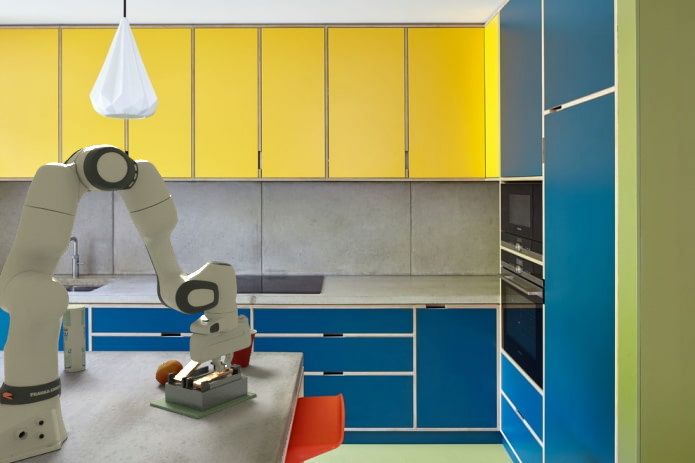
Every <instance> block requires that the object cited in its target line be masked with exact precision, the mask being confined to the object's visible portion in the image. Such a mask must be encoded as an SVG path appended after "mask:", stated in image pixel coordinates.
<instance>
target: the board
mask: <svg viewBox="0 0 695 463" xmlns="http://www.w3.org/2000/svg"><path fill="white" fill-rule="evenodd" d="M254 397H257V393H255V392H252V391H251V392H250V391H248V395H245V396H243V397H240V398H237V399H235V400H232V401H230V402H227V403H225V404H222V405H219V406H217V407H214V408H212V409H209V410H207V411H204V412H200V411H197V410H193V409H190V408H186V407H183V406H179V405H175V404H172V403H168V402H165V397H164V398H160V399H158V400H154V401H152V402H149V405H150V406H152V407H155V408H159V409H162V410H166V411H169V412H173V413H176V414H180V415H183V416H186V417H190V418H193V419H196V420H199V419H202V418H203V417H207V416H209V415H212V414H215V413H216V412H219V411H221V410H224V409H227V408H229V407H232V406H234V405H236V404H239V403H243V402H244V401H247V400H250V399H251V398H254Z"/></svg>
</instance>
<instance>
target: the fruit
mask: <svg viewBox="0 0 695 463" xmlns="http://www.w3.org/2000/svg"><path fill="white" fill-rule="evenodd" d="M183 369H184V366H183V364H182V363H181V362H180V361H179V360H176V359H175V360H174V359H170V360H167V361H166V362H163V363H161V364H160V365H159V366H158V367H157V369H156V373H155V379H156V381H157V383H159V384H160V385H161V386H164V387H165V383H168V374H170V373H173V372H174V373H175V375H178V374H179V373H180V372H181V371H182V370H183Z"/></svg>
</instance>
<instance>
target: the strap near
mask: <svg viewBox="0 0 695 463" xmlns="http://www.w3.org/2000/svg"><path fill="white" fill-rule="evenodd" d="M231 373H233V369H228V370H224V371H223V372H220V373H218V372H214V373H212V374H210V375H208V376H206V377H204V378H202V379H199V380H197V381H195V382H193V386H195V387H199V388H201V382H203V381H206V380H208V383H211V382H214V381H217V380H219V379H221V378H223V377H225V376H227V375H229V374H231Z"/></svg>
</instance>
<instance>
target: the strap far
mask: <svg viewBox="0 0 695 463" xmlns="http://www.w3.org/2000/svg"><path fill="white" fill-rule="evenodd" d="M202 364H203V363H197V362H193V361H192V360H191V361H190V362H189V363H188V364H187V365H186V366H184V367H183V370H182V371H181V372H180V373H179V374H178V375H177V376H176V377H175V378H174V381H175V382H179V383H182V377H185V376H190V375H191V374H192V373H193V372H194V371H195V370H196V369H197V368H200V365H202Z"/></svg>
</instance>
